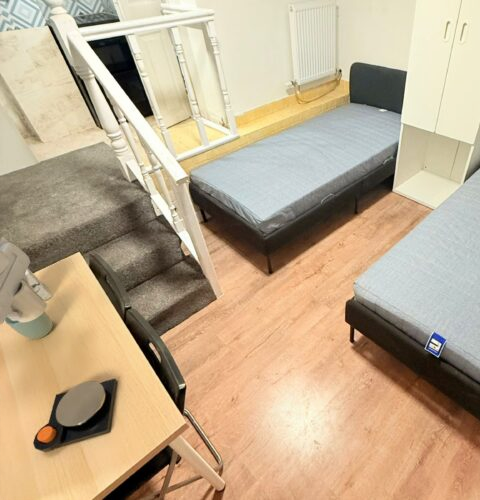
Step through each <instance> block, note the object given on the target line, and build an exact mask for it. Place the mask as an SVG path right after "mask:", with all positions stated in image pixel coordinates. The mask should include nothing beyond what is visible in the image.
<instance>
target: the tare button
mask: <svg viewBox="0 0 480 500" xmlns="http://www.w3.org/2000/svg"><path fill="white" fill-rule="evenodd" d="M43 427H44V426H43ZM40 429H41V428H40ZM40 429H39V430H40ZM37 433H38V432H37ZM56 433H57V431H56V429H54V428H52V427H50V426H47V427H44V428H43V429H41V430H40V432H39V433H38V435H37V439H38V440H39V441H41V442H43V443H48V442H50V441H51V440H53V439H54V437H55V436H56Z"/></svg>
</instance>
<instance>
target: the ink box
mask: <svg viewBox="0 0 480 500" xmlns="http://www.w3.org/2000/svg"><path fill="white" fill-rule="evenodd" d="M25 275H26V276H27V278H28V281H29V284H30V285H31V286H32V287H33V290H34V291H35V292H36V293H37V294H38V295H39V296H40V297H41V298H42V299H43V300H44V301H45V302H46V301H47V300H49V299H51V298H52V297H53V295H52V293H51V292H50V291H49V290H48V288H47V287H46V286H45V284H44V283H43V282H42V281H41V280H40V279H39V278H38V277H37V276H36V275H35V274H34V273H33V272H32V271H31V270H30V268H29V267H28V268H27V270H26V273H25Z"/></svg>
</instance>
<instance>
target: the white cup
mask: <svg viewBox="0 0 480 500" xmlns="http://www.w3.org/2000/svg"><path fill="white" fill-rule="evenodd" d="M20 282H21V284H20V286H19V288H18V291H17V293H16V294H15V295H14V297H13V298H14V300H13V302H12V304H11V306H10V307H11V308H12V311H15V310H20V311H21V312H22V313H23V314H22V317H21V319H20V320H17V321H19V322H29V321H32V320H34V319H36V318H37V317H39V316H40V315H41V314H42V313H43V312H46V309H47V307H48V304H47V302H46V301H44V300H43V299H42V298H41V297H40V296H39V295H38V294H37V293H36V292H35V291H34V290H33V289H32V288H31V287H30V286H29V285H28V284H27V283H26V282H25V281H23V280H21V281H20Z"/></svg>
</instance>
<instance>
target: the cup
mask: <svg viewBox="0 0 480 500" xmlns="http://www.w3.org/2000/svg"><path fill="white" fill-rule="evenodd" d="M4 322H5V324H7V326H9V327H10V328H11V329H12V330H14V331H15V332H16V333H18V334H19V335H21V336H22V337H24V338H27V339H29V340H39V339H41V338H43V337H45V336H47V335H48V334H49V333H50V332H51V331H52V329H53V321H52V319H51V318H50V316H49V315H48V314H47V313H46V311H44V312H43V313H42V314H41V315H40V316H39V317H37V318H36V319H34V320H32V321H29V322H19V321H17V320H16V321H12V320H11V319H10V318H8V317H6V318H5V320H4Z"/></svg>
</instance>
